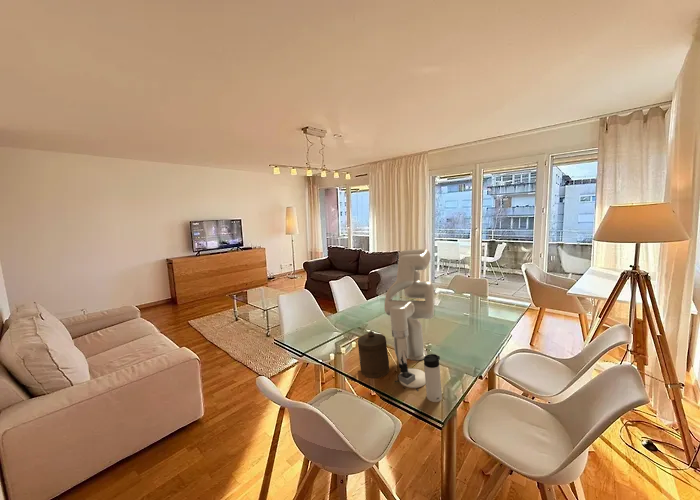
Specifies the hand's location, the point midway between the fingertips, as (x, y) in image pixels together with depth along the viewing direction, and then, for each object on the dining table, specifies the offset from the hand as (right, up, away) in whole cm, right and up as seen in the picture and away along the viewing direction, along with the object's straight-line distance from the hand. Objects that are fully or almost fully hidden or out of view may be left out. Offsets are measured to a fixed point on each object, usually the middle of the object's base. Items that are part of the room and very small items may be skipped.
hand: (403, 369), depth 132 cm
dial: (+5, -6, +2) cm, 8 cm away
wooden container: (-12, -8, +14) cm, 20 cm away
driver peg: (+2, -3, 0) cm, 4 cm away
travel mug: (+11, -8, -12) cm, 18 cm away
